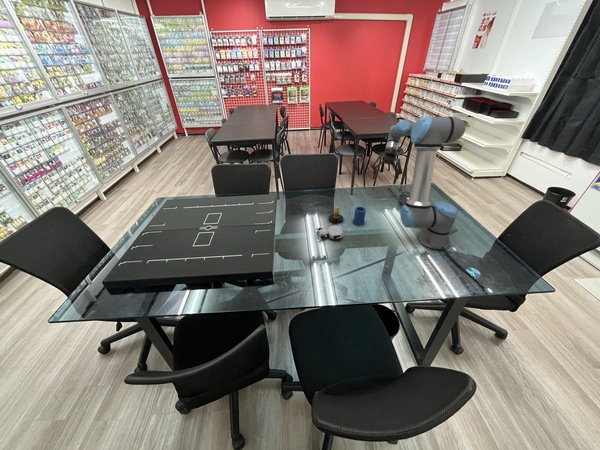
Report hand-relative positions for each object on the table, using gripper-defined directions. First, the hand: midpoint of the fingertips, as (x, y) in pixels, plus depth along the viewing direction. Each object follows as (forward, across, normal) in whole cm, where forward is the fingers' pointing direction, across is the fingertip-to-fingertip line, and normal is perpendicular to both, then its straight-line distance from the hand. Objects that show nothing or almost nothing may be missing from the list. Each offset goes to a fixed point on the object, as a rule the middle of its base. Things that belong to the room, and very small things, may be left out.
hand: (384, 181), depth 161 cm
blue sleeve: (+31, +11, +5) cm, 33 cm away
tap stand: (+32, +25, +2) cm, 40 cm away
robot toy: (+44, +28, +16) cm, 54 cm away
